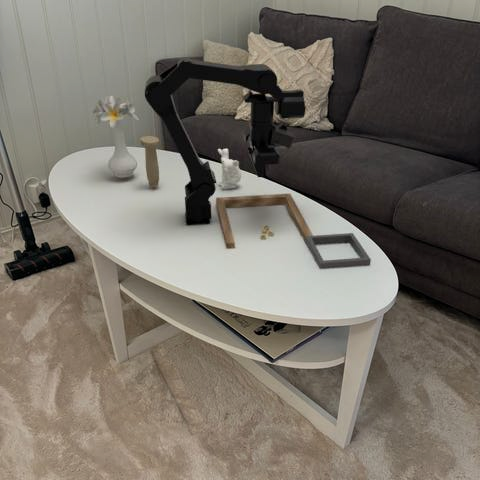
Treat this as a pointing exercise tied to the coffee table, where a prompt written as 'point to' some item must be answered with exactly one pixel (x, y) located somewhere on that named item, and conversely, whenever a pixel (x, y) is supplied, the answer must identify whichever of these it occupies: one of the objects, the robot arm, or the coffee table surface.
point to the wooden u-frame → (259, 201)
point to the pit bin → (334, 239)
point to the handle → (151, 159)
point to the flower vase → (117, 133)
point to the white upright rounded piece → (229, 171)
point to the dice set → (266, 232)
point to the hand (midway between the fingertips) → (259, 176)
